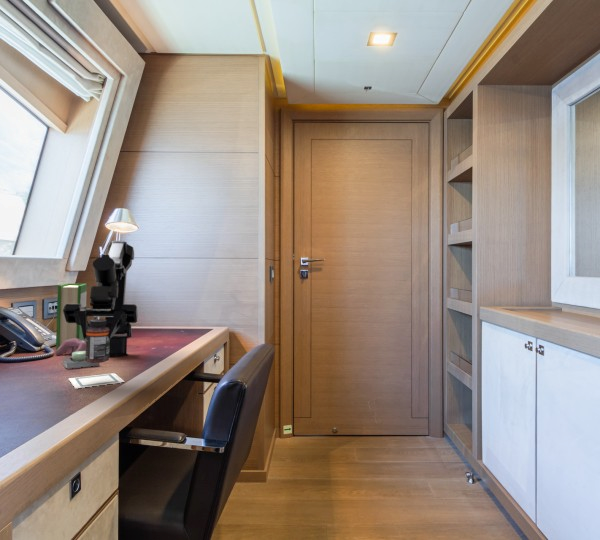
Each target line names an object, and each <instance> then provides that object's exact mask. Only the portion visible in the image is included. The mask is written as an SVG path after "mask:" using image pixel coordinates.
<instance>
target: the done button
mask: <svg viewBox="0 0 600 540" xmlns="http://www.w3.org/2000/svg"><path fill="white" fill-rule="evenodd" d="M85 354H86V350H85V351H77V352H73V353H72V355H71V357H72V361H73V362H74V361H84V360H85Z"/></svg>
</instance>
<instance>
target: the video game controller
mask: <svg viewBox="0 0 600 540" xmlns="http://www.w3.org/2000/svg"><path fill="white" fill-rule="evenodd" d="M74 347H77V348H76V349H74ZM77 351H86V340H85V341H83V340H81V339H76V338H73V339H70V340H69V339H67V340H66V341H65V342H64V343H63V344H62V345H61V346H60V347H59V348H58V349H57V350H56V349H55V355H56V356H58V357H59V356H61V355H62V354H64V353H65V352H66V355H71V356H72V353H73V352H77Z"/></svg>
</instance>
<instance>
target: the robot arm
mask: <svg viewBox="0 0 600 540" xmlns="http://www.w3.org/2000/svg"><path fill="white" fill-rule="evenodd" d="M107 247H108V248H107V254H102V255H101V256H100V257H98V258H96V259H95V260H93V262H92V268H93V269H92V270H93V274H94V279H95V280H94V281H95V282H96V283H97V284H96V285H92V286H91V287H90V293H89V299H90V301H89V305H90V306H91V308H87V307H86V308H85V307H81V304H66V305H65V306H64V309H63V312H64V316H65V319H66V322H68V323H76V324H77V325H81V328H82V333H83V338H84V339H85V340H86V330H87V329H88V328H89V327H88V326H89V322H88V321H89V320H88V317H93V318H104V320H106V327H108V328H109V329H110V331H109V339H110V351H109V358H111V357H123V356H129V353H128V352H127V351H128V339H129V338H132V334H133V333H132V324H136V323H137V322H138V318H139V313H138V306H137V304H136V303H132V304H130V303H129V304H127V303H126V304H125V300H126V286H127V274H128V273H127V272H128V270H129V269H130V268H132V265H133V261H134V260H135V249H134V247H133V246H132V245H130V244H129V243H128V242H127V241H125V240H111V241H110V244H109V245H108V246H107Z"/></svg>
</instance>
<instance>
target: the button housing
mask: <svg viewBox="0 0 600 540" xmlns="http://www.w3.org/2000/svg"><path fill="white" fill-rule="evenodd" d="M62 364H63V366H64V368H65V369H66V368H67V369H66V370H70V369H71V370H72V368H73V369H79V368H80V369H81V367H83V368H92V367H91V366H93V367H99V366H100V363H88V362H86V360H84V361H74V362H73V361H72V356H67V357H62Z"/></svg>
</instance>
